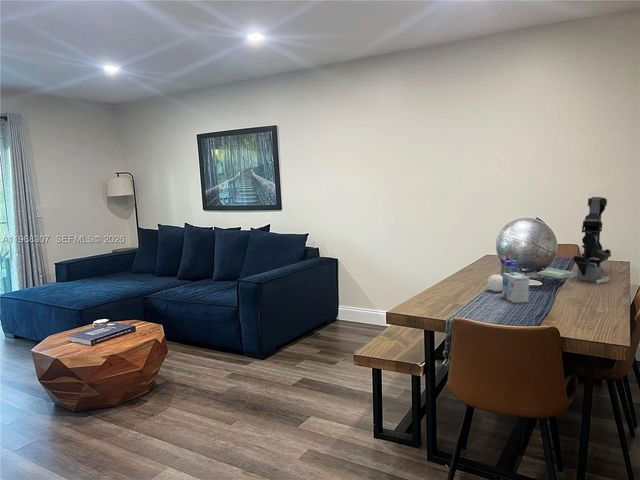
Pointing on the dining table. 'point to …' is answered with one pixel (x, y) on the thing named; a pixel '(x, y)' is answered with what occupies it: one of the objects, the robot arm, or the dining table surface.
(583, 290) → the dining table surface
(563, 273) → the tray
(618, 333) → the dining table surface
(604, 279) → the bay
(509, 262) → the ink cartridge box
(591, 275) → the grey box with tab
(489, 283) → the white rounded piece
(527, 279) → the light bulb box
